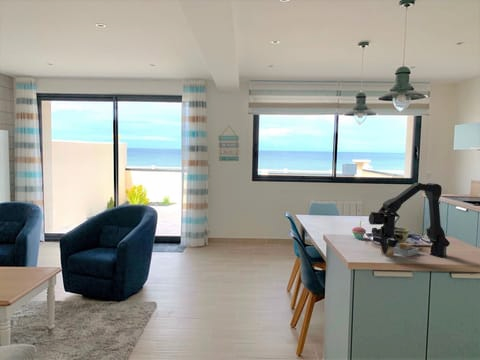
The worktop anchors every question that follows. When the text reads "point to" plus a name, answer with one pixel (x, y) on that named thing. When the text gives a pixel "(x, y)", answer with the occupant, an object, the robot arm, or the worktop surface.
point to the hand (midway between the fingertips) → (387, 253)
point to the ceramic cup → (404, 233)
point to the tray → (405, 251)
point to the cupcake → (359, 232)
